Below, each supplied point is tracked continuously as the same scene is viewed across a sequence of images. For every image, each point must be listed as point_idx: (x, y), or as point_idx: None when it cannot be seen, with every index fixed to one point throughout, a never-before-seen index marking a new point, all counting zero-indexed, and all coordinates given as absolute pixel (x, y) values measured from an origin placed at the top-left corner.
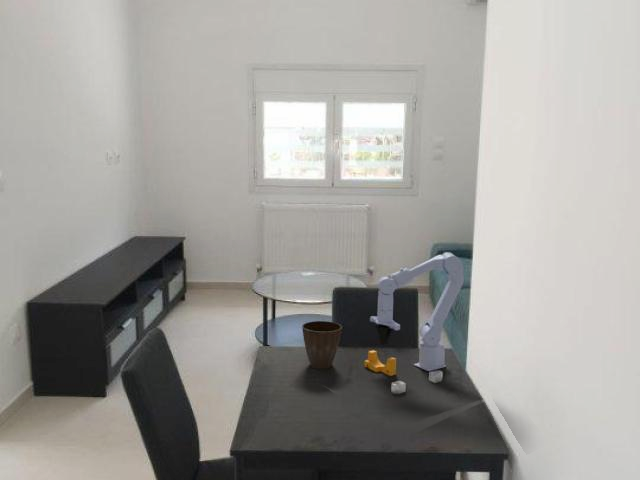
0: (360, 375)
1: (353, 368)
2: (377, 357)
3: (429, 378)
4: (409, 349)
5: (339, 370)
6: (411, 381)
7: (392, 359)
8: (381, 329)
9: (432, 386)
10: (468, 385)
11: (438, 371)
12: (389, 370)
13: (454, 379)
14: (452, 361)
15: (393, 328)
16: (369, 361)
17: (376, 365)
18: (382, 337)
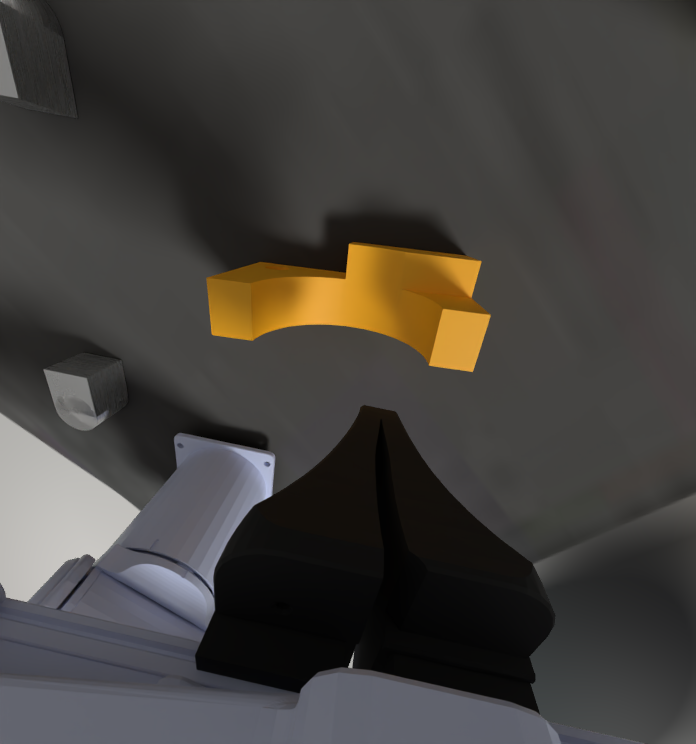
0: (409, 107)
1: (533, 193)
2: (412, 344)
3: (107, 363)
4: None
5: (620, 44)
6: (147, 288)
7: (214, 298)
8: (322, 526)
9: (51, 308)
10: (16, 420)
11: (80, 418)
12: (259, 268)
13: (89, 438)
14: None
15: (57, 619)
16: (440, 274)
17: (373, 273)
18: (355, 445)
